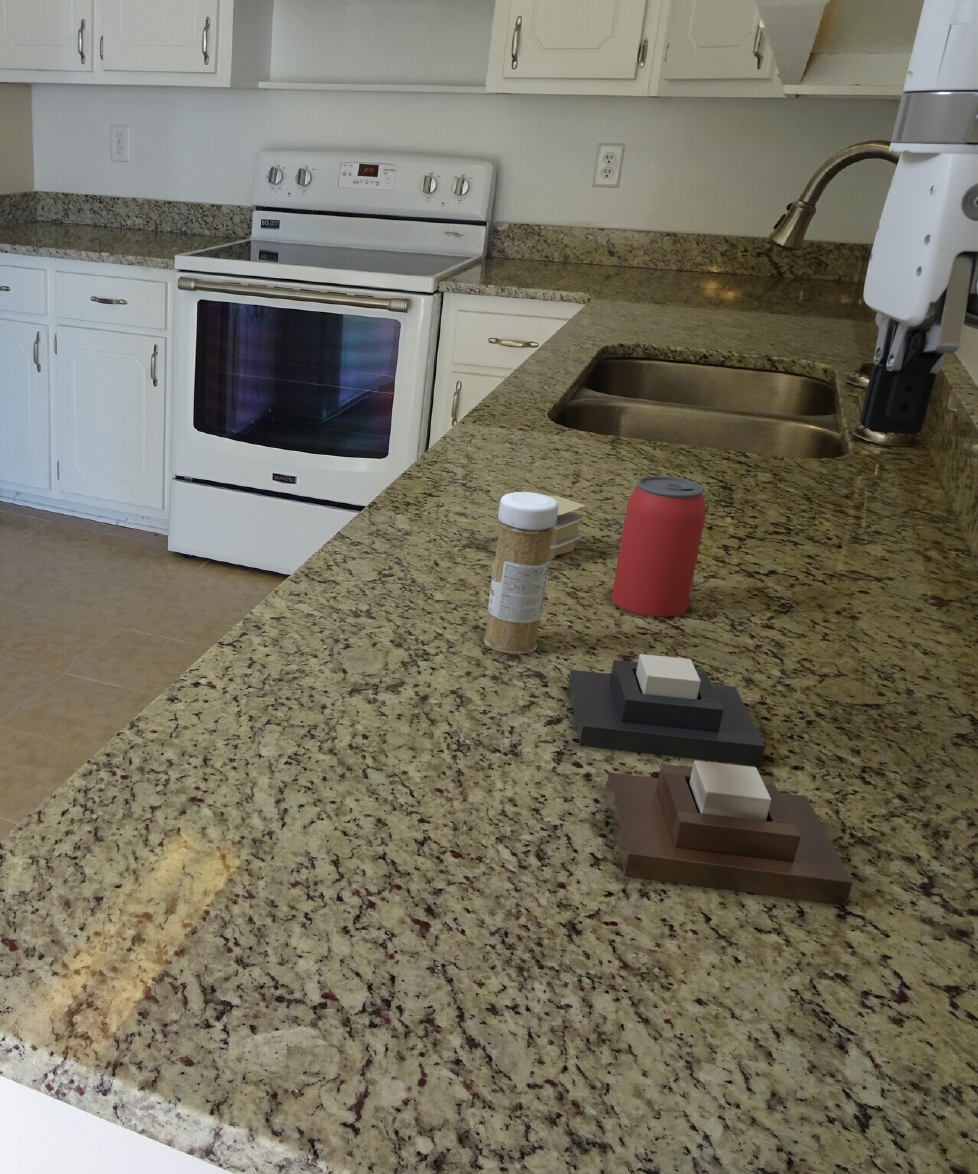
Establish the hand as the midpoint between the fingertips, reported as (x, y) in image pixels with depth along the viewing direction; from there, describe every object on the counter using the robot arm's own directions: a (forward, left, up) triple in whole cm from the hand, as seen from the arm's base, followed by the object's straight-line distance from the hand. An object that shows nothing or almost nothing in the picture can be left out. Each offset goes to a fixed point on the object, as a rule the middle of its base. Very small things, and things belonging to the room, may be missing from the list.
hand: (889, 429), depth 73 cm
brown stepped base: (+10, +17, -23) cm, 30 cm away
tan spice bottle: (+21, -10, -23) cm, 33 cm away
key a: (+10, +17, -19) cm, 28 cm away
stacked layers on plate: (+17, -34, -23) cm, 45 cm away
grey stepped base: (+11, +2, -23) cm, 26 cm away
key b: (+11, +2, -19) cm, 22 cm away
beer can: (+8, -22, -23) cm, 33 cm away
